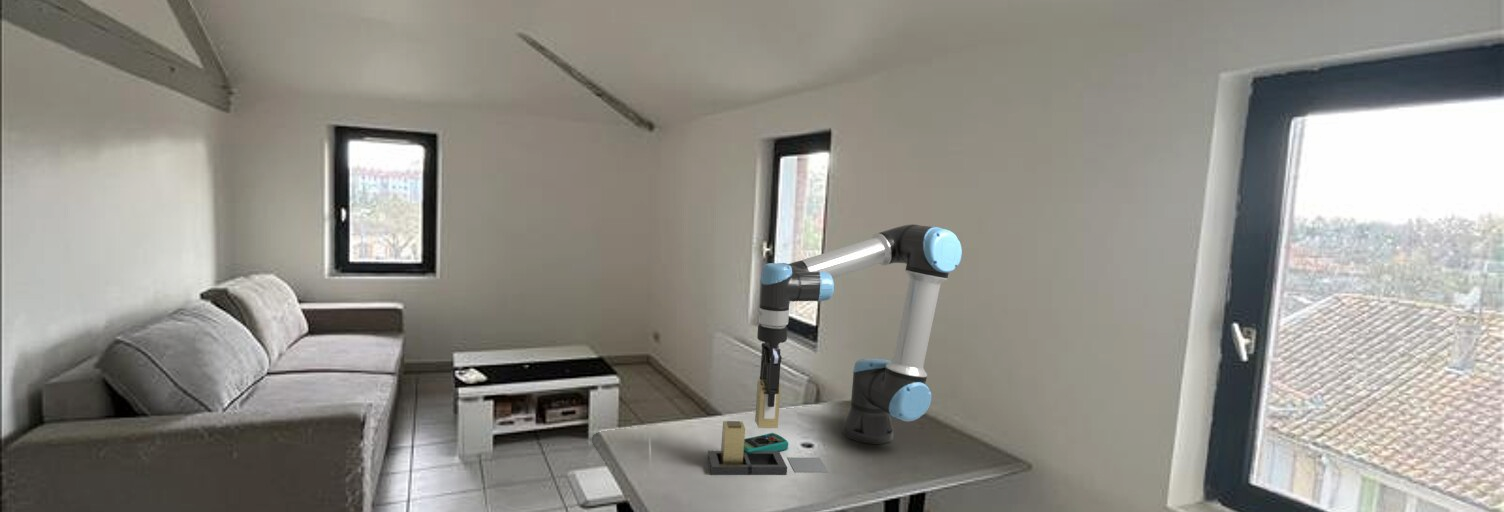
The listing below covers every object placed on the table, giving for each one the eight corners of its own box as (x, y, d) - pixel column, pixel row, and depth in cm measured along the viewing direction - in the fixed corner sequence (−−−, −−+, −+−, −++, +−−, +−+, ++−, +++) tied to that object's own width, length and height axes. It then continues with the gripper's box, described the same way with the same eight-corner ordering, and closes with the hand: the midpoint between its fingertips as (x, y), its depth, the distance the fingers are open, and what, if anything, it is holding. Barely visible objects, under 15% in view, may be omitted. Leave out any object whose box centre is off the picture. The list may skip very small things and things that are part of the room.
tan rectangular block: (773, 420, 176) (776, 378, 175) (777, 428, 172) (780, 384, 170) (755, 420, 176) (757, 378, 174) (758, 428, 171) (761, 384, 169)
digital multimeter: (789, 450, 187) (790, 440, 186) (746, 460, 178) (747, 449, 177) (773, 440, 193) (774, 430, 192) (730, 450, 184) (731, 439, 183)
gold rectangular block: (739, 462, 176) (742, 419, 175) (742, 470, 171) (745, 427, 170) (720, 462, 175) (723, 419, 174) (722, 470, 170) (725, 426, 169)
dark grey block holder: (778, 460, 181) (779, 451, 180) (786, 476, 171) (787, 467, 170) (707, 460, 177) (708, 450, 177) (711, 476, 167) (712, 467, 167)
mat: (819, 459, 183) (819, 457, 183) (828, 474, 174) (828, 471, 174) (787, 459, 181) (787, 457, 181) (794, 474, 173) (794, 471, 173)
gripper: (752, 317, 179) (747, 402, 181) (764, 333, 161) (758, 427, 164) (780, 317, 180) (774, 402, 183) (795, 333, 162) (789, 427, 165)
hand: (767, 413), depth 173 cm, fingers closed on tan rectangular block, 5 cm apart
